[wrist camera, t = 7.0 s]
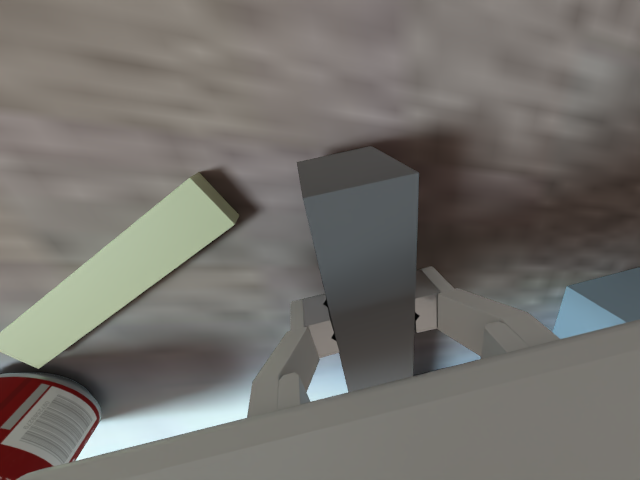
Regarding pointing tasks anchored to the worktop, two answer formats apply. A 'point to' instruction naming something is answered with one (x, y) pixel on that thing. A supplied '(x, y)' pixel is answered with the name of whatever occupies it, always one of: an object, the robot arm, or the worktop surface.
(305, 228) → the worktop surface
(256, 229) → the worktop surface
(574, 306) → the block
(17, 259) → the worktop surface
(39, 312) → the pale green stick
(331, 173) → the hook tool
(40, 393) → the soda can
